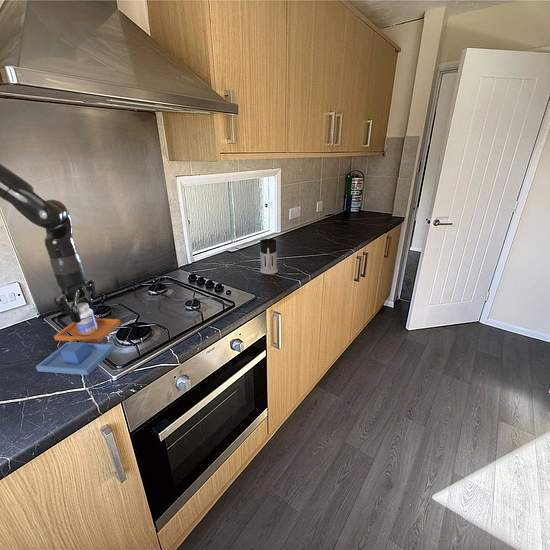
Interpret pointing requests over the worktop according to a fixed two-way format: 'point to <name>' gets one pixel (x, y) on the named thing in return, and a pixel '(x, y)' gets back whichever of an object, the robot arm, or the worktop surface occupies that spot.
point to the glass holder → (268, 256)
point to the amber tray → (103, 330)
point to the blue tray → (85, 368)
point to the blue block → (75, 353)
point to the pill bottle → (86, 320)
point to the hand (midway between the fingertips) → (84, 316)
